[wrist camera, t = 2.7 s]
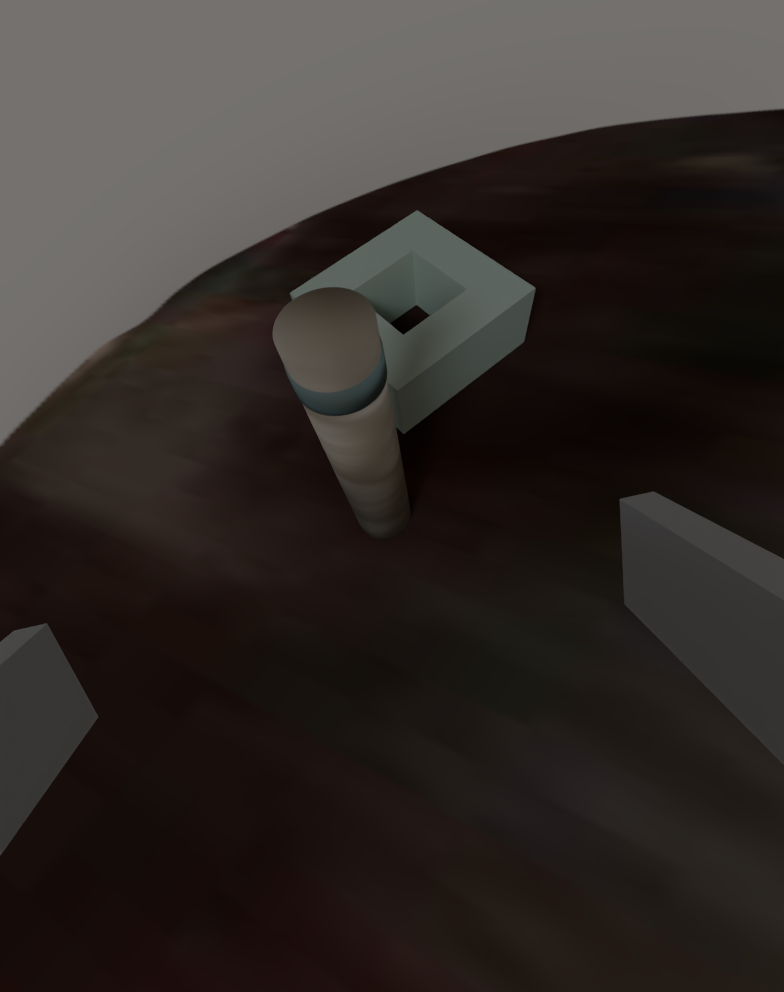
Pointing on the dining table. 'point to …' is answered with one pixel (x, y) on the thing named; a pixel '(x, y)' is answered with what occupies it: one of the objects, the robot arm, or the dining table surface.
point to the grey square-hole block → (433, 310)
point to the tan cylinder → (347, 400)
